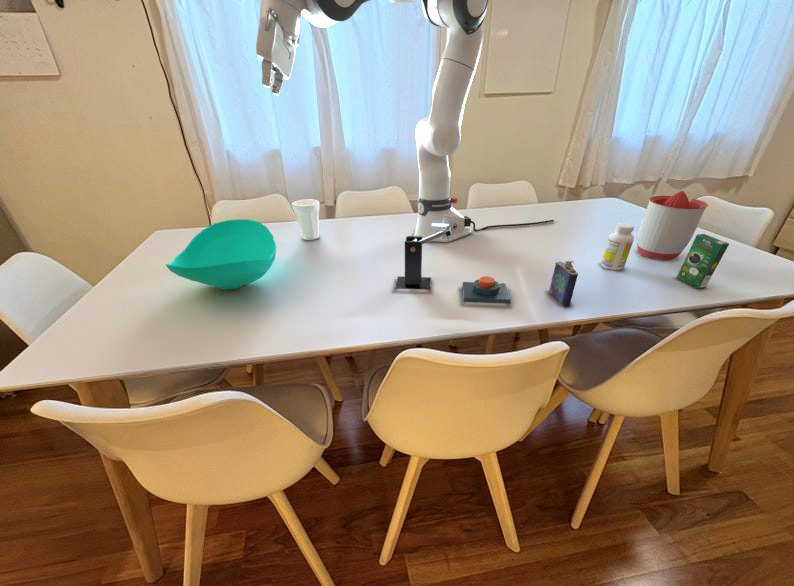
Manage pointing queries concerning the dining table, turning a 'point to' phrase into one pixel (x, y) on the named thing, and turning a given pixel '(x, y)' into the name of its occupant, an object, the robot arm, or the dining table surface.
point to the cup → (307, 217)
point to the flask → (563, 282)
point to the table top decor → (227, 254)
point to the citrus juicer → (669, 225)
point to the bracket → (413, 266)
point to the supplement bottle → (618, 247)
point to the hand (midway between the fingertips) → (271, 90)
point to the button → (486, 282)
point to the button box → (485, 293)
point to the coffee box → (702, 260)
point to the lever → (436, 235)
